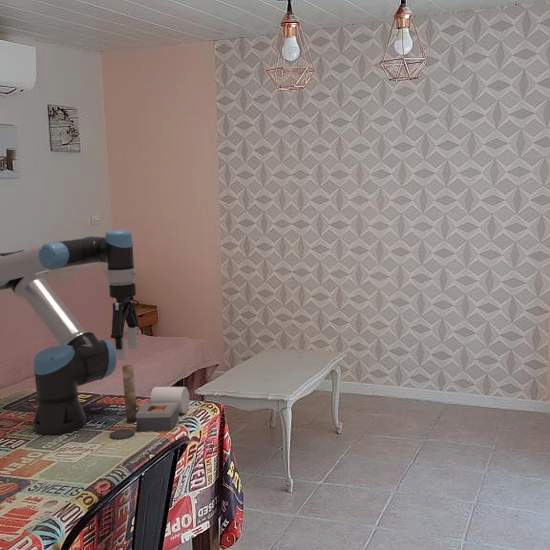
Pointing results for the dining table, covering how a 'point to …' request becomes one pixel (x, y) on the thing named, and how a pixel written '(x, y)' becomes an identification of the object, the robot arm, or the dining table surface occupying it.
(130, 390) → the brown upright bar
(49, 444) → the dining table surface
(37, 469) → the dining table surface
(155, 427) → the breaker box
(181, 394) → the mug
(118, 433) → the coaster
